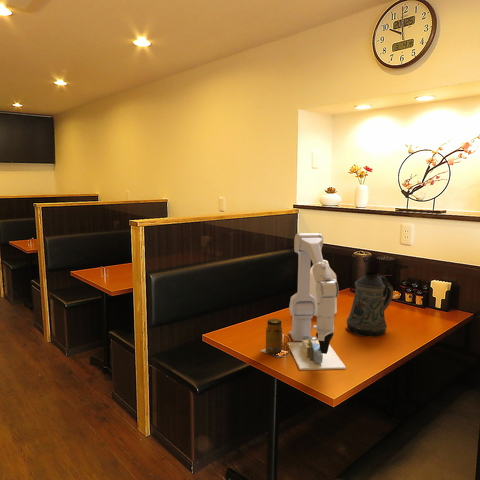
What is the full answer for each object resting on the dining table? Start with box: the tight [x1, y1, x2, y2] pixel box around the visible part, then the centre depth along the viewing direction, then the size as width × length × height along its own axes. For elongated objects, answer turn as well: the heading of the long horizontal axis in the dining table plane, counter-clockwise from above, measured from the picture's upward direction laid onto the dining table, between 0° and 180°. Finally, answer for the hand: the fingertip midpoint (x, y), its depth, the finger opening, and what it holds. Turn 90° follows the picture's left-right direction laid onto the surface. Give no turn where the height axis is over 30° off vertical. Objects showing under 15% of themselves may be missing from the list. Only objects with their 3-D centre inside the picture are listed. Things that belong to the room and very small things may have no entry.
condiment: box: [260, 318, 283, 358], centre depth 153 cm, size 7×8×12 cm
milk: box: [310, 259, 338, 317], centre depth 197 cm, size 12×12×26 cm
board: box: [287, 341, 347, 371], centre depth 151 cm, size 22×16×1 cm
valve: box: [301, 336, 323, 365], centre depth 150 cm, size 17×6×5 cm, turn 5°
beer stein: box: [346, 272, 394, 338], centre depth 176 cm, size 16×19×25 cm
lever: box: [308, 335, 321, 355], centre depth 145 cm, size 13×3×1 cm, turn 179°
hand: (323, 352), depth 142 cm, fingers closed, pressing on lever
